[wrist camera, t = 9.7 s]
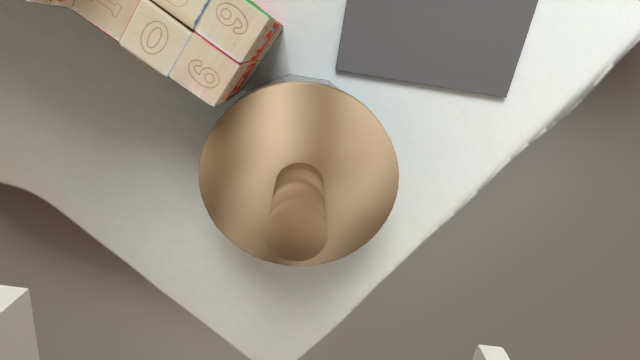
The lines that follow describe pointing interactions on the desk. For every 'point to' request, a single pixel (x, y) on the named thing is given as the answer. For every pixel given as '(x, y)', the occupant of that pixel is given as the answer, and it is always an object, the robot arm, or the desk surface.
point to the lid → (298, 173)
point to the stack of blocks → (187, 38)
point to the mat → (437, 41)
